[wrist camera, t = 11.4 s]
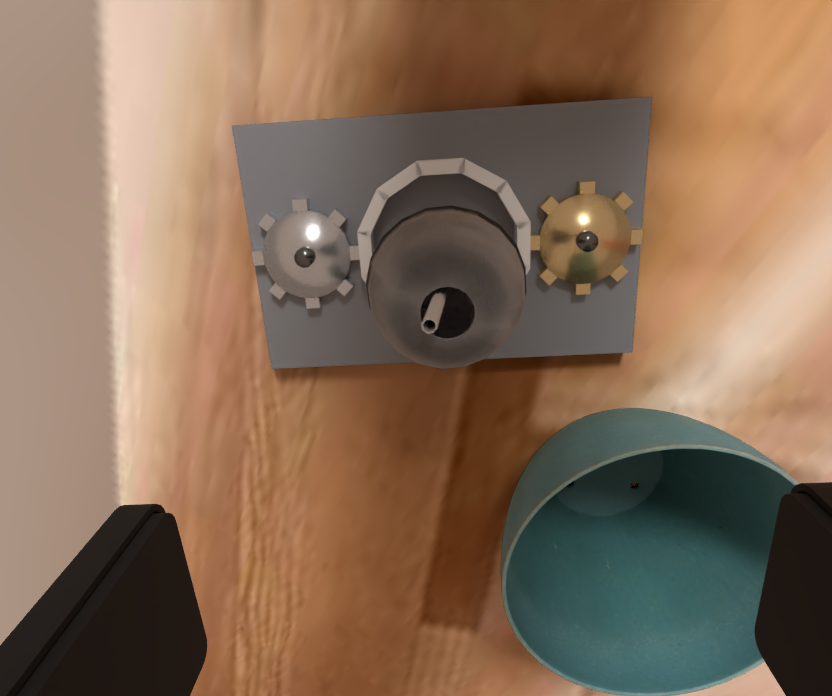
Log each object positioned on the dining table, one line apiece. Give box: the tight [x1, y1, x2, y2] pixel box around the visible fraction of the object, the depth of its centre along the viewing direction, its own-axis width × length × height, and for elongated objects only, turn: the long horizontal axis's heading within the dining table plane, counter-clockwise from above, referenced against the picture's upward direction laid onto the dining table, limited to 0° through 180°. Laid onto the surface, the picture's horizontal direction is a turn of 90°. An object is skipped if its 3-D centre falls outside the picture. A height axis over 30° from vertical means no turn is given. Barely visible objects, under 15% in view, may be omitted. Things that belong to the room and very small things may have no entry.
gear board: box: [232, 97, 652, 369], centre depth 36 cm, size 16×25×3 cm, turn 94°
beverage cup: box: [366, 205, 527, 369], centre depth 27 cm, size 7×7×20 cm
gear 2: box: [530, 180, 643, 295], centre depth 35 cm, size 7×7×2 cm
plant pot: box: [501, 408, 800, 696], centre depth 38 cm, size 18×18×12 cm
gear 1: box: [252, 198, 360, 309], centre depth 36 cm, size 7×7×2 cm
